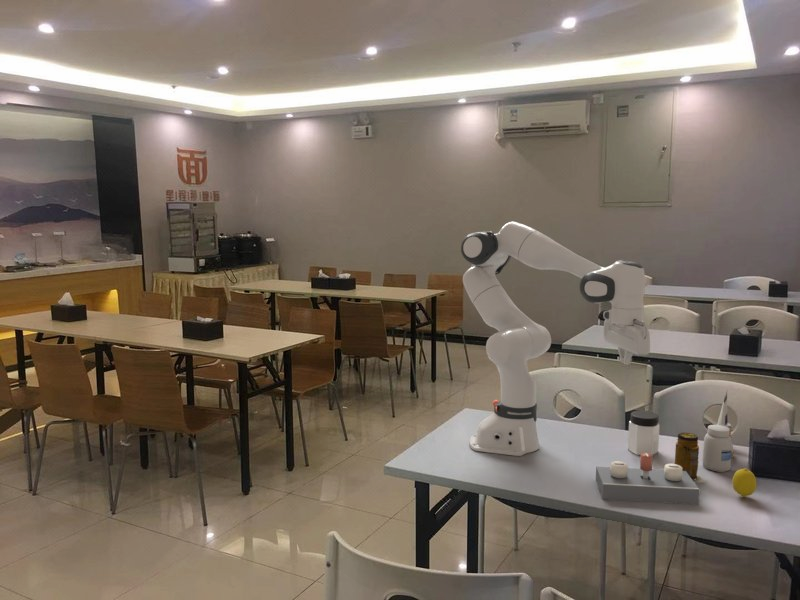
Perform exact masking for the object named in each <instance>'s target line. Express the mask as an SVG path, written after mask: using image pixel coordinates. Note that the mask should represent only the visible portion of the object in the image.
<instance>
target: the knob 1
mask: <svg viewBox="0 0 800 600" xmlns="http://www.w3.org/2000/svg"><path fill="white" fill-rule="evenodd" d="M609 467H610V475H611V476H613V477H616V478H626V477H627V472H628V468H629V467H628V463H626V462H625V461H619V460H615V461H611V462H610V466H609Z"/></svg>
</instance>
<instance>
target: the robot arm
mask: <svg viewBox="0 0 800 600" xmlns="http://www.w3.org/2000/svg"><path fill="white" fill-rule="evenodd" d="M460 245H461V246H460V253H461V255H462V257H463V258H464V259H465V260H466V262H468V263H469V264H471V266H470V268H468V269H467V270H466V271H465V272H464V273H463V276H462V284H463V287H464V289H465V291H466V293H467V296H468V297H469V299H470V301H471V303H472V304H473V307H475V309H476V311H477V312H478V314H479V315H480V317H481V319H482V320H483V322H484V323H485V324H486V325H487V326H489V327H491V328H494V329H495V330H497V332H496V333H493V334H491V335H490V337H488V339H487V340H486V344H485V350H486V351H485V353H486V354H487V358H488V359H489V360H490V361H491V362H492V363H493V364H494V365H495V366H496V368H497V371H498V374H499V378H500V400H498V399H494V400H493V402H492V406H493V408H494V409H493V411H494V412H492V414H490V415H489V416H487V417H486V418H483V420H480V423H479V424H478V426H477V429H476V432H475V433H474V434H472V435H471V437H470V439H469V447H470V448H471V449H472V450H473V451H475V452H481V453H482V452H484V453H491V454H499V455H506V456H507V455H508V456H515V457H522V456H524V455H525V454H528V453H532V452H535V451H537V450H539V449H540V447H541V446H540V445H541V443H540V441H539V436H538V431H537V430H538V429H537V419H538V404H537V402H536V401H537V380H536V378H535V377H534V375H532V374H531V373H530V371H529V369H528V360H532V359H536V358H538V357H540V356H542V355H543V354H545V353H546V352H547V351H548V350H549V349H550V348H551V345H552V336H551V333H550V331H549V330H548V329H547V328H546V327H545V326H543V325H542V324H539V323H537V322H535V321H533V319H531V318H530V317H528V316H527V315H526V314H525V313H524V312H523V311H522V310H521V309H520V308H518V306H516V304H515V303H514V301H513V300H512V299H511V298H510V296H509V295H508V293H507V292H506V290H505V289H504V287H503V286H502V285H501V283H500V281H499V280H498V278H497V276H496V275H498V274H500V273H501V272H502V270H503V269H504V268H505V267H507V265H508V263H510V261H511V258H514V259H516V260H517V261H519V262H521V263H522V264H523V265H526V266H528V267H530V268H533V269H535V270H536V269H537V270H542V271H543V270H544V271H545V270H548V271H549V270H550V271H562V272H567V273H569V274H572V275H574V276H576V277H578V278H580V281H579V292H580V295H581V297H582V298H583V300H585V301H586V302H589V303H592V304H602V303H610V304H611V309H608V310H605V311H603V316H602V317H603V319H604V321H603V337H604V338H603V339H604V341H605V342H606V343H609V344H611V345H612V346H615V347H617V351H618V355H619V362H620V363H621V364H624V365H627V366H628V365H631V362H632V357H633V355H636V356H648V355H649V353H650V352H651V337H650V335H651V334H650V331H649V329H648V327H647V325H646V323H645V322H644V318H645V317H644V313H645V304H644V295H645V293H646V277H645V275H646V274H645V269H644V267H643V265H641V263H639V262H636V261H632V260H626V259H620V260H616V261H615V262H614V263H612V264H611V265H608V266H604V265H601V264H599V263H597V262H595V261H593V260H591V259H589V258H587V257H585V256H583V255H581V254H578V253H576V252H574V251H572V250H571V249H569V248H567V247H565V246H563V245H562V244H560V243H559V242H557V241H555V240H554V239H552V238H551V237H549V236H548V235H546V234H544V233H542V232H540V231H539V230H537V229H535V228H533V227H530V226H529V225H526V224H523V223H521V222H517V221H509V222H507V223H505V224H504V225H502V227H501V228H500V230H499V231H498V232H497V233H494V232H493V231H477V232H471V233H469V234H467V235H466V236H465V237H464V238H463V240H462V242H461V244H460Z"/></svg>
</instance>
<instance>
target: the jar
mask: <svg viewBox="0 0 800 600" xmlns="http://www.w3.org/2000/svg"><path fill="white" fill-rule="evenodd" d="M659 420H660V419H659V414H657V413H655V412H653V411H649V410H633V411H632V412H631V413H630V420H629V421H628V438H627V441H628V442H627V450H628V451H630V452H631V453H633V454H635V455H636V456H637V455H638V456H641V453H650V454H652V455H653V456H654V455H656V454H658V453H659V444H660V443H659V441H660V440H659V439H660V423H659Z"/></svg>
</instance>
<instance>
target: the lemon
mask: <svg viewBox="0 0 800 600" xmlns="http://www.w3.org/2000/svg"><path fill="white" fill-rule="evenodd" d="M733 474H734V475H733V476H732V488H733V489H734V491H735V492H736V493H737V494H738V495H740V496H741V498H746V497H748V496H751V495H753V494H754V493H755V491H756V488H757V479H756V476H755V474H754V473H753V472H752V471H751V470H749V469H748V468H745V467H744V468H741V469H738V470H736V472H734V473H733Z"/></svg>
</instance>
